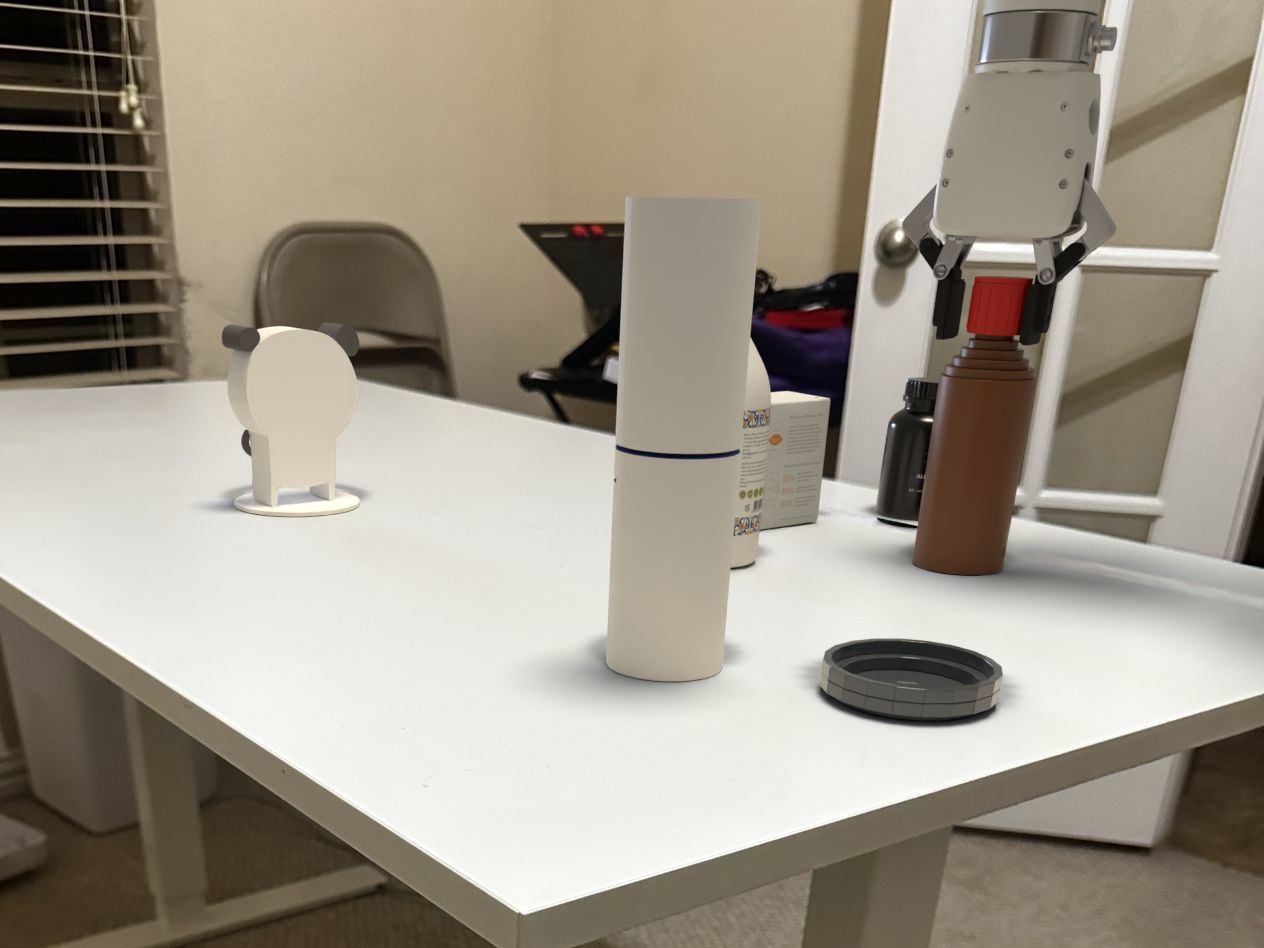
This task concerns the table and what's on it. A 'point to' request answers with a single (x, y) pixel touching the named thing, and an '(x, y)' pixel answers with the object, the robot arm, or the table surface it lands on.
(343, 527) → the table surface
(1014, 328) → the cap
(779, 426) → the small box
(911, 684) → the saucer
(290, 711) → the table surface
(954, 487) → the bottle
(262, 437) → the panda figurine
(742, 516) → the bath foam
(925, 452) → the supplement bottle
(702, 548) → the cylindrical container
